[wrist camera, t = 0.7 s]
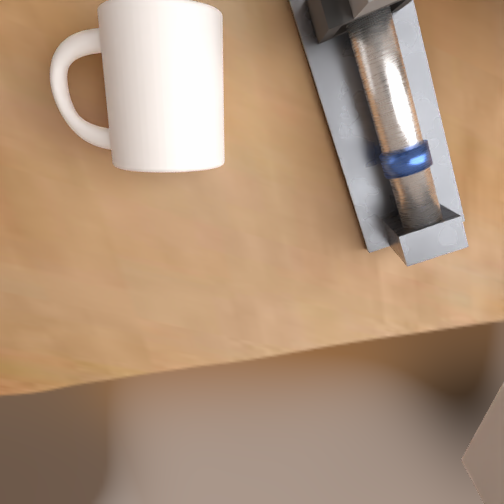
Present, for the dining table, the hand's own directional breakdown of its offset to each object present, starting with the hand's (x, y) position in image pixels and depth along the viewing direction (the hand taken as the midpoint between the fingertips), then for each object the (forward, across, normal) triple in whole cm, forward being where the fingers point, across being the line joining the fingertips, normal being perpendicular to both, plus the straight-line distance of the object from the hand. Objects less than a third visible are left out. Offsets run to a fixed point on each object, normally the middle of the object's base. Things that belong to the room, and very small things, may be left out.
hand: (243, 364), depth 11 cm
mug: (+26, -10, +5) cm, 28 cm away
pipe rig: (+26, +6, +9) cm, 28 cm away
